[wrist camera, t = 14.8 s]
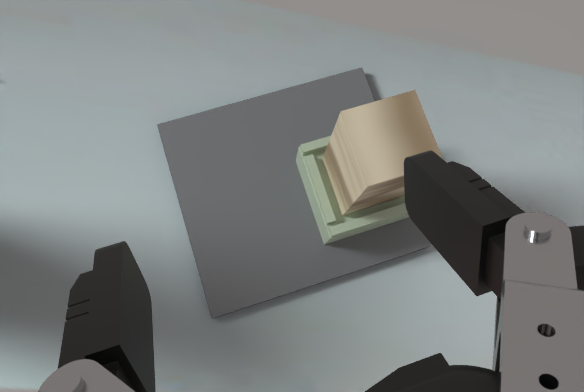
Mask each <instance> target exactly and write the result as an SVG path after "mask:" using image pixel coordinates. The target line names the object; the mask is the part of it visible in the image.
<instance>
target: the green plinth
mask: <svg viewBox="0 0 584 392" xmlns="http://www.w3.org/2000/svg"><path fill="white" fill-rule="evenodd" d="M330 137H331V136H328V137H324V138H321V139H318V140H314V141H311V142H308V143H304V144H301V145H300V147H298V152H297V157H296V163H297V166H298V169H299V172H300V175H301V178H302V181H303V184H304V187H305V190H306V193H307V196H308V199H309V202H310V205H311V208H312V211H313V214H314V217H315V220H316V222H317V225H318V228H319V231H320V234H321V237H322V240H323V243H324V245H325V244H328V243H331V242H334V241H337V240H340V239H343V238H346V237H349V236H352V235H356V234H359V233H362V232H365V231H368V230H371V229H374V228H377V227H380V226H384V225H387V224H390V223H393V222H396V221H399V220H402V219H405V218H408V217H409V215H408V212H407V209H406V206H405V194H404V195H403V196H401V197H400V198H398V199H395V200H392V201H388V202H385V203H382V204H379V205H376V206H372V207H369V208H366V209H363V210H360V211H356V212H353V213H350V214H347V215H344V216H342V214H341V211H340V209H339V206H338V203H337V200H336V197H335V194H334V191H333V188H332V186H331V183H330V180H329V177H328V174H327V171H326V168H325V165H324V163H323V160H322V158H323V156H324V153H325V150H326V148H327V145H328V143H329V140H330Z"/></svg>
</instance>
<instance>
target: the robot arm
mask: <svg viewBox="0 0 584 392" xmlns="http://www.w3.org/2000/svg"><path fill="white" fill-rule="evenodd" d="M404 192H405V206H406V209H407V212H408V215H409V217H410V219H411V220H412V221H413V223H414V224H415V225H416V226H417V227H418V229H419V230H420V231H421V232H422V233H423V234H424V236H425V237H426V238H427V239H428V240H429V241H430V243H431V244H432V245H433V246H434V247H435V248H436V249H437V251H438V252H439V253H440V254H441V255H442V256H443V258H444V259H445V260H446V261H447V262H448V263H449V265H450V266H451V267H452V268H453V269H454V270H455V272H456V273H457V274H458V275H459V276H460V277H461V279H462V280H463V281H464V282H465V283H466V284H467V286H468V287H469V288H470V289H471V290H472V291H473V293H474V294H475V295H476V296H479V295H482V294H485V293H487V292H490V291H493V292H494V293H495V294H496V296H497V302H496V316H495V334H494V352H493V367H492V370H490V369H486V368H482V367H477V366H468V365H450V366H449V364H448V363H447V361H446V360H445V358H444V357H443V355H442V354H441V353H438V354H436V355H433V356H430V357H427V358H425V359H422V360H419V361H416V362H414V363H411V364H408V365H406V366H403V367H400V368H398V369H397V370H395V371H394V372H392V373H391V374H390V375H388V376H387V377H385V378H384V379H382V380H381V381H380V382H378V383H377V384H375V385H374V386H372V387H371V388H369V389H368V390H367V391H365V392H584V226H575V227H568V226H567V225H566V224H565V223H564V222H563V221H561V220H559V219H558V218H556V217H553V216H551V215H548V214H543V213H535V212H529V213H525V212H524V211H523V210H521V209H520V208H519V207H518V206H516V205H515V204H514V203H513V202H511V201H510V200H509V199H508V198H506V197H505V196H504V195H503V194H502V193H500V192H499V191H498V190H497V189H495V188H494V187H491V185H490V184H489V183H488V182H487V181H485V180H484V179H482V178H481V177H480V176H479V175H478V174H477V173H475V172H474V171H473V170H472V169H471V168H469V167H466V166H464V165H461V164H458V163H456V162H453V161H452V162H449V163H447V162H445V161H444V160H443V159H442V158H441V157H440V156H438V155H437V154H436V153H435V152H434V151H432V150H429V151H426V152H423V153H419V154H416V155H413V156H409V157H406V158H405V160H404ZM68 308H69V309H67V314H66V321H67V322H65V327H64V333H63V340H62V346H61V353H60V359H59V365H58V369H57V370H56V371H55V372H53V373H52V374H51V375H50V376H49V377H48V378H47V379H46V380H45V382H44V383H43V384H42V386H41V387H40V389H39V391H38V392H155V371H154V350H153V328H152V307H151V298H150V294H149V290H148V287H147V284H146V282H145V280H144V278H143V275H142V273H141V271H140V269H139V267H138V265H137V263H136V261H135V259H134V257H133V254H132V252H131V250H130V248H129V246H128V245H127V243H126V242H125V241H123V242H120V243H117V244H113V245H110V246H107V247H103V248H100V249H97V250H96V251H95V256H94V265H93V271H89V272H86V273H83V274H80V276H79V277H78V279H77V281H76V282H75V284H74V285H73V287H72V288H71V290H70V295H69V302H68Z"/></svg>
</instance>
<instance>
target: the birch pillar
mask: <svg viewBox="0 0 584 392" xmlns="http://www.w3.org/2000/svg"><path fill="white" fill-rule="evenodd" d="M429 150H432V151H434V152H435V153H436V154H437V155H438V156H440V157H441V158H442V156H441V153H440V151H439V148H438V146H437V143H436V141H435V138H434V136H433V134H432V131H431V129H430V126H429V124H428V121H427V119H426V116H425V114H424V111H423V109H422V106H421V104H420V101H419V99H418V96H417V94H416V91H415V90H413V91H410V92H406V93H403V94H399V95H396V96H392V97H389V98H385V99H382V100H378V101H375V102H371V103H368V104H364V105H361V106H357V107H354V108H350V109H347V110H343V111H341V112H340V114H339V117H338V119H337V122H336V125H335V127H334V130H333V132H332V135H331V137H330V140H329V143H328V145H327V148H326V150H325V153H324V156H323V158H322V160H323V163H324V165H325V168H326V171H327V174H328V177H329V180H330V183H331V186H332V188H333V191H334V194H335V197H336V200H337V203H338V206H339V209H340V211H341V214H342V216H344V215H347V214H350V213H353V212H356V211H360V210H363V209H366V208H369V207H372V206H376V205H379V204H382V203H385V202H388V201H392V200H395V199H398V198H400V197H401V196H403V195H404V194H405V192H404V160H405V158H406V157H409V156H413V155H416V154H419V153H423V152H426V151H429ZM442 159H443V158H442Z"/></svg>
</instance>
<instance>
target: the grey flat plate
mask: <svg viewBox="0 0 584 392" xmlns="http://www.w3.org/2000/svg"><path fill="white" fill-rule="evenodd" d="M371 102H375V100H374V97H373V95H372V92H371V90H370V87H369V84H368V82H367V79H366V77H365V74H364V71H363V69H362V68H358V69H355V70H351V71H347V72H344V73H340V74H337V75H333V76H329V77H326V78H322V79H319V80H315V81H312V82H308V83H304V84H301V85H297V86H294V87H290V88H286V89H283V90H279V91H276V92H272V93H269V94H265V95H261V96H258V97H254V98H251V99H247V100H243V101H240V102H236V103H233V104H229V105H226V106H222V107H218V108H215V109H211V110H208V111H204V112H201V113H197V114H193V115H190V116H186V117H183V118H179V119H175V120H172V121H168V122H165V123H161V124H158V125H157V126H158V130H159V133H160V137H161V140H162V144H163V147H164V151H165V154H166V158H167V161H168V165H169V169H170V172H171V176H172V179H173V183H174V186H175V190H176V193H177V197H178V200H179V204H180V208H181V211H182V215H183V218H184V222H185V225H186V229H187V232H188V236H189V239H190V243H191V247H192V250H193V254H194V257H195V261H196V264H197V268H198V271H199V275H200V278H201V282H202V286H203V289H204V293H205V296H206V300H207V303H208V307H209V310H210V314H211V317H212V318H215V317H218V316H221V315H224V314H227V313H230V312H233V311H236V310H239V309H242V308H245V307H248V306H251V305H255V304H258V303H261V302H264V301H267V300H270V299H273V298H276V297H279V296H282V295H285V294H288V293H291V292H294V291H297V290H300V289H303V288H306V287H309V286H312V285H315V284H318V283H321V282H324V281H327V280H330V279H333V278H336V277H339V276H342V275H345V274H348V273H351V272H354V271H357V270H360V269H363V268H366V267H369V266H372V265H375V264H378V263H381V262H384V261H387V260H390V259H393V258H396V257H399V256H402V255H405V254H408V253H411V252H414V251H417V250H420V249H423V248H426V247H429V246H430V243H429V241H428V239H427V238H426V237H425V236H424V234H423V233H422V232H421V231H420V230H419V229H418V227H417V226H416V225H415V224H414V223H413V221H412V220H411V219H410V217H408V218H405V219H402V220H399V221H396V222H393V223H390V224H387V225H384V226H380V227H377V228H374V229H371V230H368V231H365V232H362V233H359V234H356V235H352V236H349V237H346V238H343V239H340V240H337V241H334V242H331V243H328V244H325V245H324V243H323V240H322V237H321V234H320V231H319V228H318V225H317V222H316V220H315V217H314V214H313V211H312V208H311V205H310V202H309V199H308V196H307V193H306V190H305V187H304V184H303V181H302V178H301V175H300V172H299V169H298V166H297V163H296V157H297V152H298V147H300V145H301V144H304V143H308V142H311V141H314V140H318V139H321V138H324V137H328V136H331V135H332V132H333V130H334V127H335V125H336V122H337V119H338V117H339V114H340V112H341V111H343V110H347V109H350V108H354V107H357V106H361V105H364V104H368V103H371Z"/></svg>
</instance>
